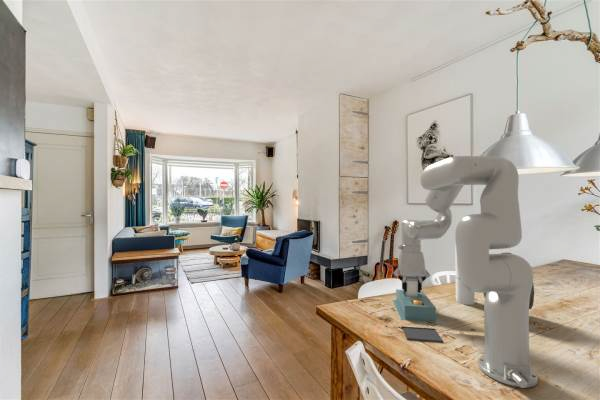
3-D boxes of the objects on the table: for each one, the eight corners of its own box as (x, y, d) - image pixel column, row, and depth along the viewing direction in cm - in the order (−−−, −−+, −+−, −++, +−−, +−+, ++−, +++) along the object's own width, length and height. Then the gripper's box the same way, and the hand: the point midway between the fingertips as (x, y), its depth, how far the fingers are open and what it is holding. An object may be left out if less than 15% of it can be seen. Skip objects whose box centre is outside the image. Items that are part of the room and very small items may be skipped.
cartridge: (419, 308, 112) (419, 279, 112) (406, 307, 113) (406, 278, 113) (416, 304, 117) (416, 275, 117) (404, 303, 118) (404, 275, 118)
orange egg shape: (423, 314, 103) (423, 302, 104) (414, 313, 104) (414, 302, 104) (421, 311, 107) (420, 299, 107) (412, 310, 107) (412, 299, 107)
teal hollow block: (441, 324, 100) (440, 308, 100) (401, 322, 102) (401, 306, 102) (425, 303, 120) (425, 289, 120) (392, 301, 123) (392, 288, 123)
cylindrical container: (477, 305, 117) (476, 248, 117) (459, 304, 119) (458, 247, 119) (470, 299, 124) (469, 245, 124) (453, 298, 126) (452, 244, 126)
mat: (442, 342, 88) (442, 340, 88) (407, 339, 89) (407, 338, 89) (432, 326, 98) (432, 325, 98) (400, 324, 100) (400, 323, 100)
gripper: (391, 250, 113) (392, 293, 113) (435, 250, 110) (435, 295, 110) (389, 246, 120) (389, 287, 120) (429, 247, 117) (430, 289, 117)
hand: (411, 290), depth 115 cm, fingers closed on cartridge, 5 cm apart
